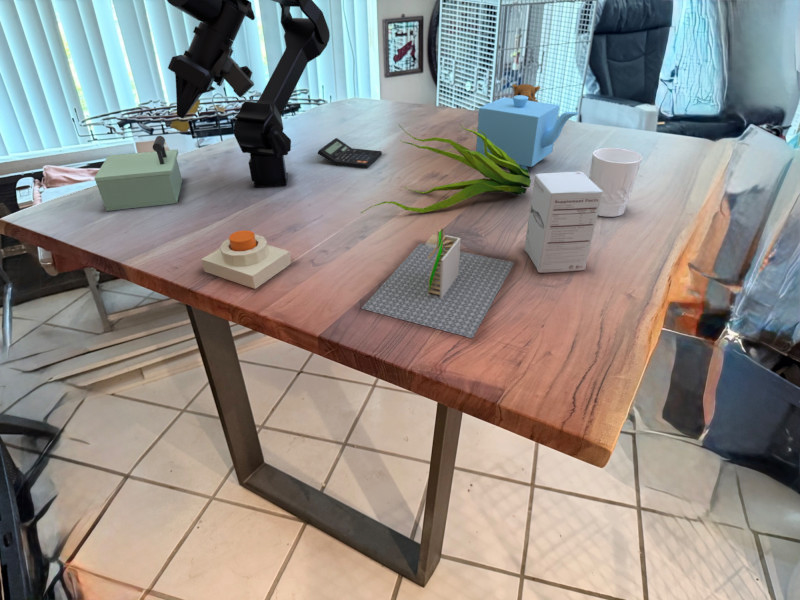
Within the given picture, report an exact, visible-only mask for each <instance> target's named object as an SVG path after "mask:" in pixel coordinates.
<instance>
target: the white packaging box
mask: <svg viewBox="0 0 800 600" xmlns="http://www.w3.org/2000/svg"><path fill="white" fill-rule="evenodd" d="M533 179H534V180H533V187H532V195H531V201H530V208H529V213H528V220H527V221H528V222H527V227H526V228H527V229H526V235H525V243H524V247H523V248H524V251H525V252H526V254H527V256H529V258H530V260H531V262H532V263H533V265H534V267H535V269H536V270H537V272H538V273H539V274H544V273H546V274H547V273H562V272H563V273H565V272H578V271H585V270H586V267H587V264H588V258H589V253H590V249H591V245H592V240H593V237H594V232H595V228H596V224H597V219H598V216H599V215H598V211H599V207H600V202H601V198H602V193H603V191H602V190H601V189H600V188H599V187H598V186H597V185H596V184H594V183H593V181H591V180H590V179H589V176H587V175H586V174H585V173H584V172H583V171H563V172H561V171H560V172H543V173H535V174H534V178H533Z"/></svg>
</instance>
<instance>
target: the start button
mask: <svg viewBox="0 0 800 600" xmlns="http://www.w3.org/2000/svg"><path fill="white" fill-rule="evenodd" d="M254 234H255V232H254V231H252V230H238V231H235V232H233V233H231V234H230V235H229V236H228V239H229V241H230V245H231V249H232V250H233V251H247V250H251V249H253V248H255V247H256V240H255V235H256V234H255V235H254Z"/></svg>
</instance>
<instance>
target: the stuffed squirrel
mask: <svg viewBox="0 0 800 600" xmlns="http://www.w3.org/2000/svg"><path fill="white" fill-rule="evenodd" d="M511 89H512V92H513V97H514V96H517V95H523V96H527V97H528V101H535V102H539V100H538V99H537V97H536V94H537V93H538V91H539V90H541V86H540V85H537V86H534V85H532V84H527V83H521V84H519V85H517V84H516V83H513V84H511Z"/></svg>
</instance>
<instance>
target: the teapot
mask: <svg viewBox="0 0 800 600" xmlns="http://www.w3.org/2000/svg"><path fill="white" fill-rule="evenodd" d="M559 111H560V105H559V104H555V103H549V102H542V101H538V102H535V101H528V97H527V96H523V95H517V96H514V95H513V96H512V97H505V96H503V97H500V98H499V99H496V100H493V101H492V102H488V103H485V104H483V105H482V106H481V107H479V109H478V114H477V115H478V116H477V117H478V120H477V129H478V130H477V132H478V133H480V134H482V135H483V136H485V135H486V137H487V139H489V140H490V141H491V142H492V143H493V144H494V145H495V146H497V147H498V148H500V149H501V150H503V151H504V152H505V153H506V154H507V155H508V156H509V157H510V158H511V159H514V160H515V162H516V163H517V164H518V165H519V166H520V167H521V168H523V169H526V170H528V167H530V168H532V167H534V166H535V165H536V164H538V163H539V162H541V161H542V160H543V159H544V158H546V157H548V156H549V155H550V154H552V153H553V151H554V150H553V149H554V148H553V147H554V143H555V142H556V141H557V140H558V139H559V137H560V135H561V133H562V131H563V128H564V127H565V125H566V124H567V122H568V121H569V120H570V119H571V118H572V117H575V116H577V115H580V113H579V112H576V111H565V112H563V113H561V114H560V116H559ZM558 116H559V117H558ZM479 130H480V131H479ZM481 131H482V132H483V133H485V135H484V134H483V133H482V132H481ZM475 146H476V147H475V148H476V150H475V151H478V152H479V153H481V154H482V155H484V156H485V154H484V142H483V140H482V139H481V138H480V137H479V136H477V135H476V145H475ZM487 151H488V152H489V153H490V154H492V153H491V152H490V150H489V149H488V147H487ZM492 155H493V154H492ZM485 157H487V156H485ZM487 158H488V157H487ZM495 164H496V163H495ZM496 165H497V166H498V164H496Z"/></svg>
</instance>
